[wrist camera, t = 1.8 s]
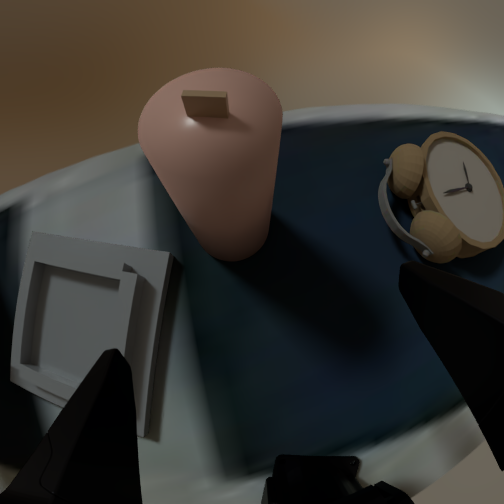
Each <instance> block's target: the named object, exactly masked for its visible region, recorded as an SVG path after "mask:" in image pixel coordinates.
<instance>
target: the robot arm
mask: <svg viewBox="0 0 504 504" xmlns="http://www.w3.org/2000/svg"><path fill="white" fill-rule="evenodd" d="M399 290H400V292H401V294H402V296H403V298H404V300H405V301H406V303H407V305H408V307H409V309H410V310H411V312H412V314H413V316H414V318H415V320H416V322H417V323H418V325H419V327H420V329H421V330H422V332H423V333H424V335H425V336H426V338H427V339H428V341H429V342H430V344H431V346H432V347H433V349H434V350H435V352H436V353H437V355H438V356H439V358H440V360H441V361H442V363H443V364H444V366H445V368H446V369H447V371H448V372H449V374H450V376H451V377H452V379H453V381H454V382H455V384H456V386H457V387H458V389H459V391H460V393H461V394H462V396H463V398H464V400H465V401H466V403H467V405H468V407H469V408H470V410H471V412H472V414H473V416H474V417H475V419H476V421H477V423H478V424H479V427H480V429H481V431H482V433H483V435H484V437H485V439H486V441H487V443H488V445H489V446H490V449H491V451H492V453H493V455H494V457H495V459H496V461H497V463H498V465H499V468H500V469H501V471H503V470H504V294H503V293H501V292H499V291H496V290H493V289H491V288H488V287H485V286H483V285H480V284H477V283H475V282H472V281H469V280H467V279H464V278H461V277H458V276H456V275H453V274H450V273H447V272H444V271H442V270H439V269H436V268H433V267H430V266H427V265H424V264H421V263H419V262H416V261H408V262H406V263H403V264H402V265H401V267H400V274H399ZM281 459H284V460H286V461H285V462H283V463H281V462H279V461H280V460H281ZM352 461H355V462H354V463H353V464H350V463H351V462H352ZM358 466H359V459H358V458H357V457H356V456H300V455H284V454H283V455H279V456H277V457H276V460H275V465H274V470H273V474H272V477H268V478H267V479H266V482H265V487H264V492H263V496H262V501H261V504H414V502H413V501H412V500H411V498H410V497H409V496H408V495H407V494H406V493H405V492H403V491H402V490H399V489H397V488H395V487H393V486H391V485H389V484H387V483H385V482H384V481H380V482H378V483H376V484H374V486H372V485H370V486H368V487H366V488H362V486H361V485H360V483H359V482H358V481H357V479H356V478H355V477H356V473H357V470H358ZM0 504H142V495H141V486H140V474H139V461H138V444H137V417H136V406H135V398H134V389H133V380H132V370H131V367H130V365H129V363H128V362H127V360H126V359H125V358H124V356H123V355H122V354H121V352H120V351H119V350H118V349H117V348H112V349H107V350H105V351H104V352H103V353H102V354H101V356H100V357H99V358H98V360H97V361H96V363H95V364H94V365H93V367H92V368H91V369H90V371H89V372H88V374H87V375H86V376H85V378H84V379H83V381H82V382H81V383H80V385H79V386H78V388H77V389H76V391H75V392H74V393H73V395H72V396H71V398H70V399H69V401H68V402H67V403H66V405H65V406H64V408H63V409H62V411H61V412H60V414H59V415H58V417H57V418H56V420H55V421H54V423H53V424H52V426H51V427H50V429H49V430H48V433H46V435H45V436H44V438H43V439H42V441H41V442H40V444H39V445H38V447H37V448H36V450H35V451H34V453H33V454H32V455H31V457H30V458H29V460H28V461H27V462H26V464H25V465H24V466H23V468H22V469H21V470H20V472H19V473H18V474H17V476H16V477H15V478H14V480H13V481H12V482H11V484H10V485H9V486H8V488H7V489H6V490H5V491H3V492H2V493H1V494H0Z"/></svg>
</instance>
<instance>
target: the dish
mask: <svg viewBox="0 0 504 504" xmlns="http://www.w3.org/2000/svg"><path fill="white" fill-rule="evenodd" d="M173 258H174V256H173V255H172V254H171V253H170V252H164V251H157V250H150V249H143V248H137V247H130V246H123V245H117V244H110V243H103V242H97V241H90V240H84V239H78V238H71V237H65V236H58V235H52V234H46V233H40V232H33V231H32V235H31V239H30V243H29V247H28V251H27V255H26V259H25V263H24V268H23V273H22V278H21V283H20V288H19V294H18V300H17V307H16V314H15V321H14V330H13V340H12V353H11V372H10V381H12V382H13V383H15V384H17V385H19V386H21V387H22V388H24V389H26V390H28V391H30V392H32V393H34V394H36V395H38V396H40V397H42V398H44V399H46V400H48V401H50V402H52V403H54V404H56V405H58V406H61V407H63V408H64V406H65V405H66V403H67V402H68V401H69V399H70V398H71V396H72V395H73V393H74V392H75V391H76V389H77V388H78V386H79V385H80V383H81V382H82V381H83V379H84V378H85V376H86V375H87V374H88V372H89V371H90V369H91V368H92V367H93V365H94V364H95V363H96V361H97V360H98V358H99V357H100V356H101V354H102V353H103V352H104V351H105V350H107V349H112V348H117V349H118V350H119V351H120V352H121V354H122V355H123V356H124V358H125V359H126V360H127V362H128V363H129V365H130V367H131V370H132V380H133V389H134V398H135V406H136V417H137V435H138V436H141V437H144V436H145V435H146V434H148V433H149V423H150V412H151V402H152V393H153V384H154V376H155V368H156V360H157V353H158V346H159V339H160V332H161V325H162V319H163V313H164V307H165V301H166V295H167V290H168V284H169V279H170V273H171V268H172V263H173Z"/></svg>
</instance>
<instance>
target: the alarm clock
mask: <svg viewBox="0 0 504 504" xmlns="http://www.w3.org/2000/svg"><path fill="white" fill-rule="evenodd" d="M383 163H384V164H385V165H386V166H387V169H386V175H385V176H384V178H383V180H382V181H381V183H380V186H379V191H378V199H379V205H380V208H381V212H382V215H383V217H384V219H385V220H386V222H387V224H388V226H389V227H390V228H391V230H392V231H393V232H394V233H395V234H396V235H397V236H398V237H399V238H400V239H402V240H403V241H404V242H406V243H408V244H411V245H412V246H414V247H415V249H416V250H417V252H418V253H419V254H420V255H421V256H422V257H424V258H425V259H427V260H429V261H431V262H434V263H447V262H449V261H451V260H452V259H454V258H455V257H459V258H467V257H472V256H475V255H477V254H479V253H481V252H483V251H485V250H488V249H490V248H494V247H496V246H497V245H498V244H499V243H500V242H501V241H502V240H503V239H504V188H503V185H502V182H501V180H500V178H499V176H498V174H497V172H496V171H495V169H494V167H493V166H492V164H491V163H490V161H489V160H488V159H487V158H486V157H485V155H484V154H483V153H482V152H481V151H480V150H479V149H478V148H477V147H476V146H474V145H473V144H472V143H471V142H469V141H468V140H467V139H465V138H463V137H461V136H459V135H456V134H454V133H448V132H439V133H435V134H432V135H431V136H430V137H429V138H428V139H427V140H426V141H425V142H424V143H423V145H422V147H421V148H420V147H419V146H417V145H414V144H404V145H401V146H399V147H398V148H396V149H395V150H394V151H393V153H392V154H391V156H390V158H389V159H384V162H383ZM386 183H388V185H389V188H390V190H391V191H392V192H393V193H394V194H395V195H396V196H398V197H400V198H402V199H407V200H408V204H409V207H410V211H411V212H412V214H413V216H414V219H413V221H412V223H411V228H410V234H409V233H407V232H406V231H405V230H404V229H403V228H402V227H401V225H400V224H399V223H398V221H397V220H396V218H395V217H394V215H393V213H392V211H391V209H390V206H389V203H388V199H387V193H386Z"/></svg>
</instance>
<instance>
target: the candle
mask: <svg viewBox="0 0 504 504" xmlns="http://www.w3.org/2000/svg"><path fill="white" fill-rule="evenodd" d="M282 115H283V114H282V107H281V104H280V101H279V99H278V97H277V95H276V93H275V92H274V91H273V90H272V88H271V87H270V86H269V85H268V84H266V83H265V82H264V81H262V80H261V79H260V78H258V77H256V76H254V75H252V74H249V73H247V72H244V71H240V70H236V69H229V68H208V69H202V70H197V71H193V72H190V73H187V74H185V75H182V76H180V77H178V78H176V79H174V80H172V81H170V82H169V83H167V84H166V85H164V86H163V87H162V88H160V89H159V90H158V91H157V92H156V93H155V94H154V95H153V96H152V97H151V99H150V100H149V101H148V103H147V104H146V106H145V107H144V109H143V111H142V114H141V117H140V119H139V124H138V138H139V143H140V145H141V148H142V150H143V152H144V153H145V155H146V157H147V158H148V160H149V162H150V164H151V165H152V167H153V169H154V170H155V172H156V174H157V175H158V177H159V179H160V180H161V182H162V184H163V185H164V187H165V188H166V190H167V192H168V193H169V195H170V197H171V198H172V200H173V202H174V203H175V205H176V206H177V208H178V210H179V211H180V213H181V215H182V216H183V218H184V219H185V221H186V223H187V224H188V226H189V227H190V229H191V230H192V232H193V234H194V235H195V237H196V238H197V240H198V242H199V243H200V245H201V246H202V248H203V249H204V250H205V251H206V252H207V253H208V254H210V255H211V256H213V257H215V258H217V259H219V260H223V261H231V262H232V261H240V260H244V259H246V258H248V257H250V256H252V255H254V254H255V253H256V252H257V251H258V250H259V249H260V248H261V247H262V246H263V244H264V243H265V241H266V239H267V236H268V232H269V225H270V217H271V209H272V201H273V193H274V185H275V177H276V169H277V161H278V153H279V145H280V136H281V128H282Z"/></svg>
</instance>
